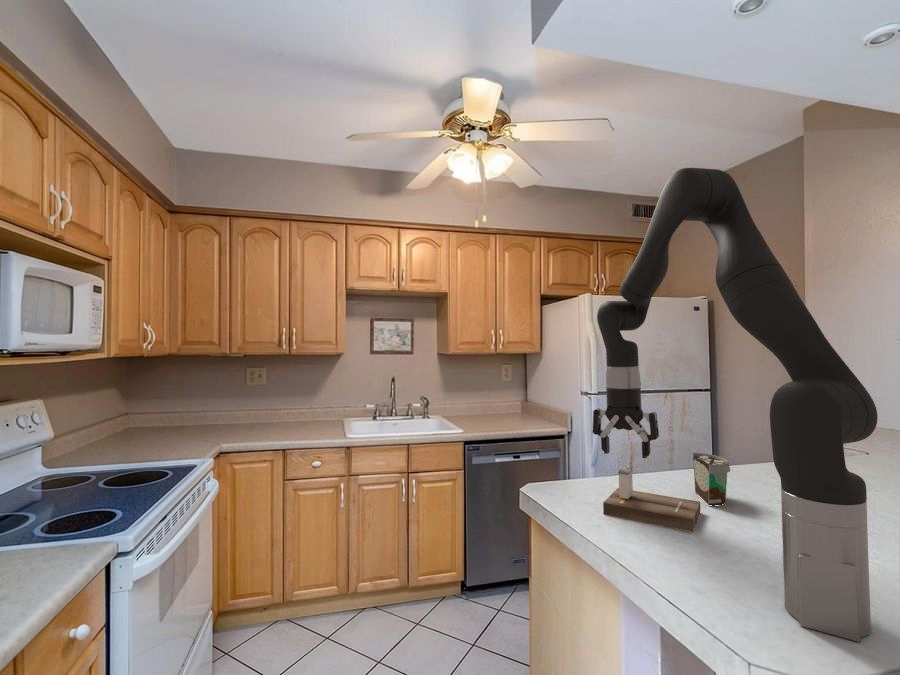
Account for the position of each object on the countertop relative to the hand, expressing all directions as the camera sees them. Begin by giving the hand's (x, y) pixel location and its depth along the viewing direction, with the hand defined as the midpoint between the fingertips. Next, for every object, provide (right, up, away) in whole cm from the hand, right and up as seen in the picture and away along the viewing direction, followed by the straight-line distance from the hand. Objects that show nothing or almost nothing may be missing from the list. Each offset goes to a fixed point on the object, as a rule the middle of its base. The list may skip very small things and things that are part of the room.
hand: (625, 455), depth 104 cm
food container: (+24, -12, +4) cm, 27 cm away
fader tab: (0, -9, 0) cm, 9 cm away
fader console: (+5, -12, -3) cm, 13 cm away
